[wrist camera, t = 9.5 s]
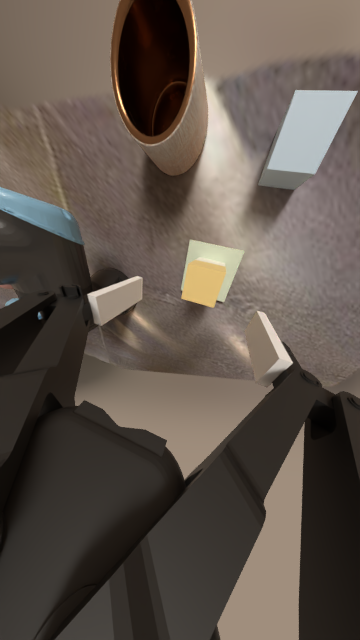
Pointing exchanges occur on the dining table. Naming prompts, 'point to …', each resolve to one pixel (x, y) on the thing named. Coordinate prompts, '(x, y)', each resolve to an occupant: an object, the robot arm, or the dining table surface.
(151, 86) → the planter
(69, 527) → the robot arm
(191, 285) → the ochre brick
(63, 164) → the dining table surface
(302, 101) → the blue brick
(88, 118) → the dining table surface
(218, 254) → the baseplate
